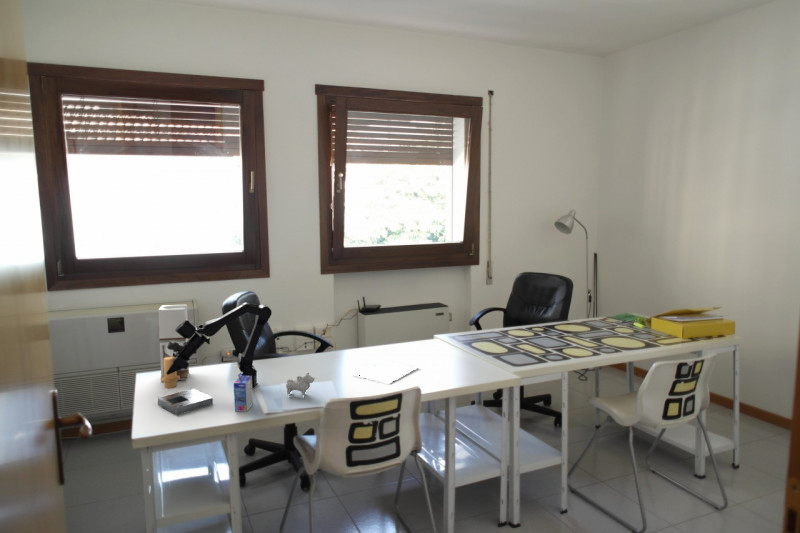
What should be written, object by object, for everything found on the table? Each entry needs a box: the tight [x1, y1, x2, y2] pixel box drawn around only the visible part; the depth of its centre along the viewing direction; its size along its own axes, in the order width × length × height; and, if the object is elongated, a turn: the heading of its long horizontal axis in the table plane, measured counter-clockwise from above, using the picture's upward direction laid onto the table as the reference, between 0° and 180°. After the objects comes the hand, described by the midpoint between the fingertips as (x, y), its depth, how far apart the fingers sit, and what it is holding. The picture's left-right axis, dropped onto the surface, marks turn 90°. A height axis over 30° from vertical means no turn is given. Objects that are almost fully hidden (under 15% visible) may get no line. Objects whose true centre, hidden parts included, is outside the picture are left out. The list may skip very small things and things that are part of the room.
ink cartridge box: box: [233, 372, 254, 412], centre depth 219 cm, size 10×6×14 cm, turn 2°
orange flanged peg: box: [160, 357, 180, 390], centre depth 229 cm, size 8×8×13 cm
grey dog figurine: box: [285, 372, 316, 396], centre depth 233 cm, size 5×13×11 cm, turn 89°
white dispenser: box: [158, 304, 190, 381], centre depth 253 cm, size 11×11×35 cm
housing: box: [157, 388, 214, 416], centre depth 221 cm, size 16×16×3 cm
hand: (166, 372), depth 229 cm, fingers closed on orange flanged peg, 5 cm apart
